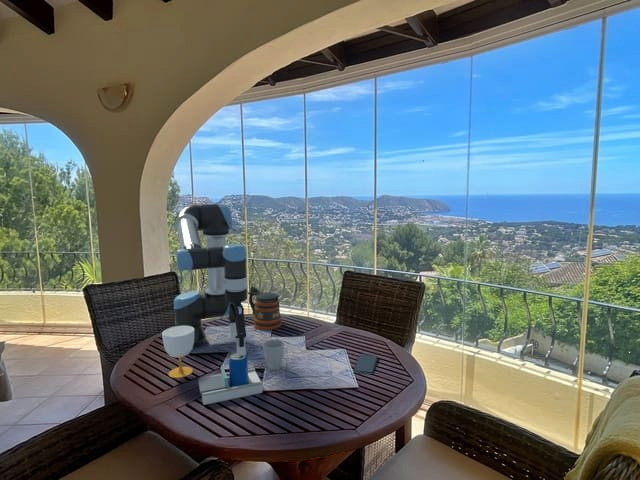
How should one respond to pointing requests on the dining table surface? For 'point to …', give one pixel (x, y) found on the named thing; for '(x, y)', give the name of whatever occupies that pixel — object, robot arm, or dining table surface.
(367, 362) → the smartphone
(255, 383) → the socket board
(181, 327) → the cup
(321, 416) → the dining table surface
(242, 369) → the beverage can
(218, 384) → the shutter
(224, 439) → the dining table surface
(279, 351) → the cup
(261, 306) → the beer stein
